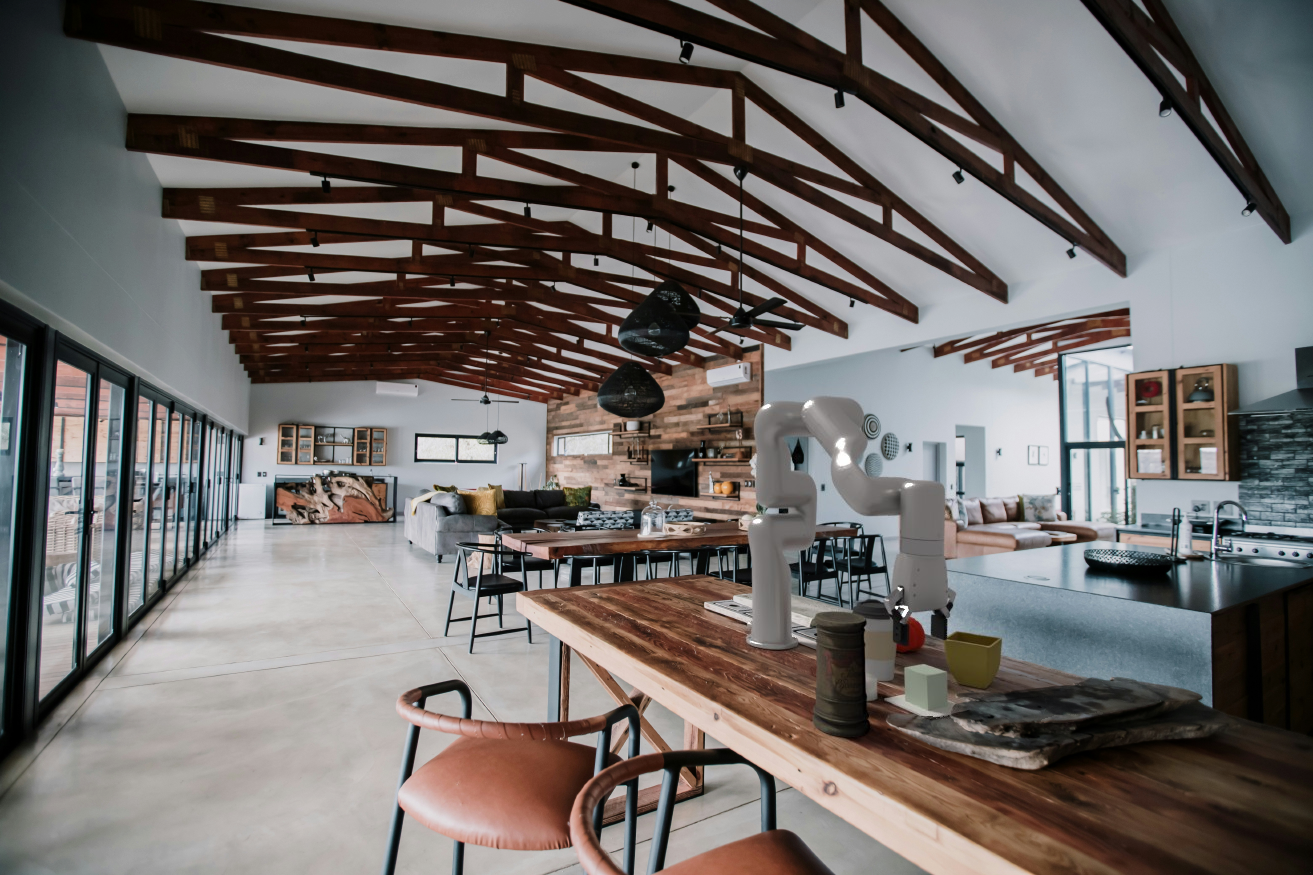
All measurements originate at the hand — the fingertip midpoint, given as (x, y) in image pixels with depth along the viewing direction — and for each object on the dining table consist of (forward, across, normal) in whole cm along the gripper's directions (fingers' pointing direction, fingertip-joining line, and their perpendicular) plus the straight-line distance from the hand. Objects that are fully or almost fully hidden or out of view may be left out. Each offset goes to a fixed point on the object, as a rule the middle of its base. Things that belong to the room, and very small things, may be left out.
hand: (920, 640), depth 112 cm
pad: (+11, 0, +2) cm, 11 cm away
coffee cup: (+12, -4, -14) cm, 19 cm away
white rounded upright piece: (+12, +7, -8) cm, 16 cm away
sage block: (+11, 0, +2) cm, 11 cm away
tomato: (+13, -24, -25) cm, 37 cm away
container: (+11, +20, +2) cm, 23 cm away
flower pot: (+12, -18, -2) cm, 22 cm away
